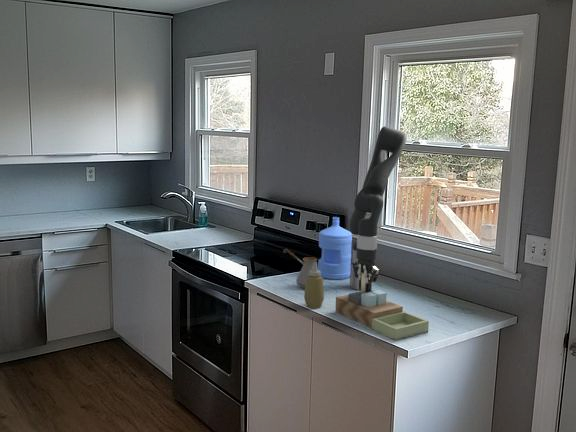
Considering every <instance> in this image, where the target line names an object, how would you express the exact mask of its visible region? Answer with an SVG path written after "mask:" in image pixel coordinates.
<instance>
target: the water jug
mask: <svg viewBox="0 0 576 432" xmlns="http://www.w3.org/2000/svg"><path fill="white" fill-rule="evenodd" d="M352 241H353V234H352V233H351V231H349V230H347V229H345V228H343V227H341V226H340V217H338V216H333V217H332V225H331V226H330V227H329V226H328V227H327V228H324V229H322V230H320V231H319V234H318V247H319V248H320V249H321V257H320V258H319V259H317V261H318V262H317V267H318V270H319V271H321V275H320V276H321V277H323V279H327V280H344V279H345V280H346V279H348V278H350V267H351V265H352Z"/></svg>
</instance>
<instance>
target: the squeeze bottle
mask: <svg viewBox="0 0 576 432" xmlns="http://www.w3.org/2000/svg"><path fill="white" fill-rule="evenodd" d="M320 275H321V271H319V270H318V262H317V261H316V262H314V263H313V267H312V270H310V271H309V276H307V278H306V286H305V289H304V295H303V299H304V302H305V305H306V307H307V308H311V309H318V308H321V307H322V305H323V302H324V299H325V292H324V280H323V279H324V278H323V277H321V276H320Z"/></svg>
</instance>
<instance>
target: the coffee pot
mask: <svg viewBox="0 0 576 432" xmlns="http://www.w3.org/2000/svg"><path fill="white" fill-rule="evenodd" d="M282 252H283V253H285V252H286V253H287V254H289V255H290V256H291V257H293V258H294V259H295V260H297V261H298V262H300V264H301V265H302V267H301V269H300V272H299V273H298V275H297V278H296V284H297V286H299V287H300V288H301V289H302V290H305V286H306V278H307V276H309V271H310V270H312V267H313V263H314V262H317V261H318V259H317V258H316V257H312V256H311V257H303V258H302V260H301V259H300V258H299V257H298V256H296V255H295V254H294V252H291V250H289V249H288V248H285V249H284V250H283V251H282Z"/></svg>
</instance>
